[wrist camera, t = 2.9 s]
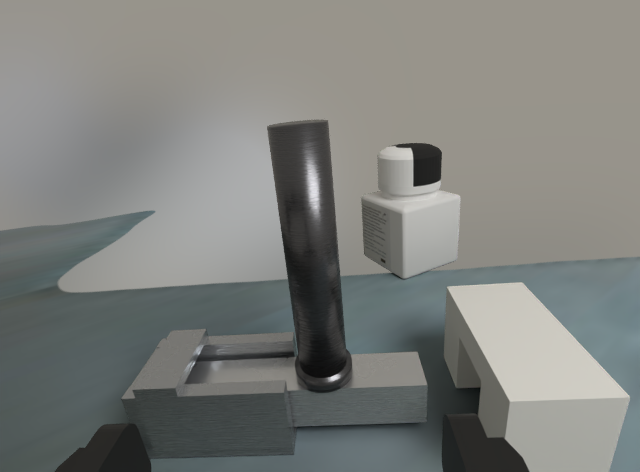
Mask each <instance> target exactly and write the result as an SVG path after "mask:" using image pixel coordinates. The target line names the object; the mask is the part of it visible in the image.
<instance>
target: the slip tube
mask: <svg viewBox="0 0 640 472" xmlns="http://www.w3.org/2000/svg"><path fill="white" fill-rule="evenodd" d="M267 130H268V137H269V144H270V152H271V159H272V166H273V173H274V180H275V188H276V195H277V202H278V210H279V216H280V224H281V231H282V238H283V246H284V253H285V260H286V267H287V275H288V282H289V290H290V297H291V304H292V311H293V319H294V326H295V333H296V340H297V348H298V356H297V357H289V358H267V359H245V360H223V361H201V362H195V364H194V366H193V368H192V370H191V372H190V374H189V376H188V378H187V380H186V381H185V383H184V384H202V383H226V382H251V381H275V380H286V384H287V391H288V397H289V403H290V410H291V416H292V422H293V427H295V426H325V425H356V424H387V423H418V422H427V382H426V379H425V375H424V372H423V369H422V365H421V362H420V359H419V356H418V352H398V353H376V354H355V355H350V353H349V351H348V350H347V349H346V344H345V331H344V318H343V305H342V292H341V280H340V268H339V254H338V243H337V242H338V241H337V229H336V216H335V203H334V190H333V178H332V165H331V152H330V139H329V128H328V120H307V121H306V120H305V121H295V122H286V123H279V124H274V125H270V126H268V127H267Z"/></svg>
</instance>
